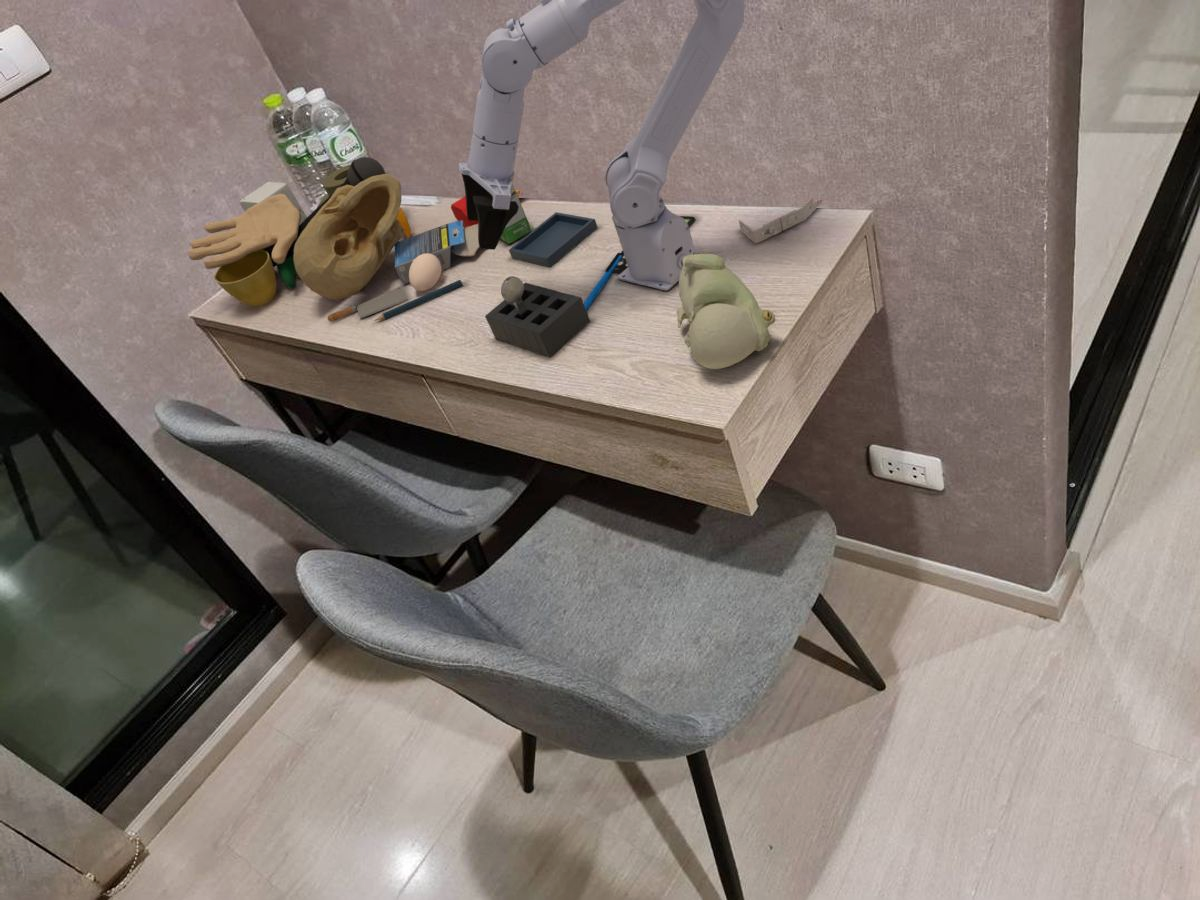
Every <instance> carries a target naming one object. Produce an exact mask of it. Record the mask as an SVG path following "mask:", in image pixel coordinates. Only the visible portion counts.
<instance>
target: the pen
mask: <svg viewBox="0 0 1200 900" xmlns="http://www.w3.org/2000/svg"><path fill="white" fill-rule="evenodd" d="M623 254H624V252H623V250H621V252H617V253H616V254H615V256H614V257H613V258H612V260H611V261H610V263H609V264H608V265H607V267H606V268H605V270H604V274H603V275H602V276H601V278H600V279H599V280H598V282H597V284H596V285H595V286H594V288H593V290H591V292H590V294H589V295H588V297H586V300H585V301H583V304H584V306H585V309H586V311H587V310H588V309H589V308H590V306H591V305H592V303H593V302H594V300H595V299H596V297H597V296H598V294H599V293H600V292H601V290H602V289H603V287H604V286H605V284H606V283H607V281H608V280H609V279H610V277H611V276H612V275H613V274H612V272H613V270H614V269H615V267H616V266H617V264H618V263H619V261H620V260H621V259H622V257H623Z"/></svg>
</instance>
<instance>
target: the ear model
mask: <svg viewBox="0 0 1200 900" xmlns="http://www.w3.org/2000/svg"><path fill="white" fill-rule="evenodd" d="M401 205H402V186H401V182H400V180H399V179H397V178H396V177H395V176H393V175H392V174H390V173H388V174H382V175H376V176H372V177H370V178H368V179H366V180H364V181H362V182H360V183H359V184H357V185H356V186H351V185H345V186H342V187H339V188H337V189H336V191H335V192H334V193H333V195H332V196H331V198H330V199H329V200H328V201H327V202H326V203H325V204H324V205H323V206H322V208H321V209H320V210H319V211H318V212H317V214H316V215H315V216H314V217H313V218H312V219H311V221H310V222H309V223H308V225H307V226H306V227H305V229H304V230H303V232H302V233H301V235H300V236H299V238H298V240H297V242H296V243H295V247H294V259H293V260H294V265H295V269H296V272H297V274H298V276H299V277H298V278H300V280H301V282H302V283H303V284H304V285H305V286H306V287H307V288H308V289H310V291H311V292H313V293H316V294H317V295H318V296H321V297H324V298H328V299H330V300H341V299H346V298H349V297H353V296H355V295H357V294H359V292H360V291H362V289H364V288H365V287H366V286H367V285H368V284H369V283H370V281H371V279H372V278H373V276H374V275H375V274H376V273H377V272H378V270H379V268H380V267H381V266H382V265H383V263H384V262H385V260H386V259H387V258H388V257H389V255H390V253H391V252H392V250H393V249H394V248H395V245H396V244H397V243H398V241H401V239H402V232H403V229H402V226H401V224H400V223H399V221H398V220H397V219H396V218H397V216H398V213H399V209H400V208H401Z"/></svg>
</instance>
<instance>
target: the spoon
mask: <svg viewBox="0 0 1200 900" xmlns="http://www.w3.org/2000/svg"><path fill="white" fill-rule="evenodd" d="M523 284H524V282H523V280H522V279H521V278H519V277H517V276H514V275H511V276H507V277H506V278H505V279H504V280H503V282H502V284H501V287H500V295H501V297H502V299H503V301H504V300H505V301H507V302H510V303H513V304H514V306H515V308H516V311H517V313H518V315H519V317H520V319H521V320H524V319H525V318H526V317H527V316H529V313H528V311H527V309H526V307H525V304H524V302H523V300H522V298H521V297H522V295H523V292H524V285H523Z"/></svg>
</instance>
